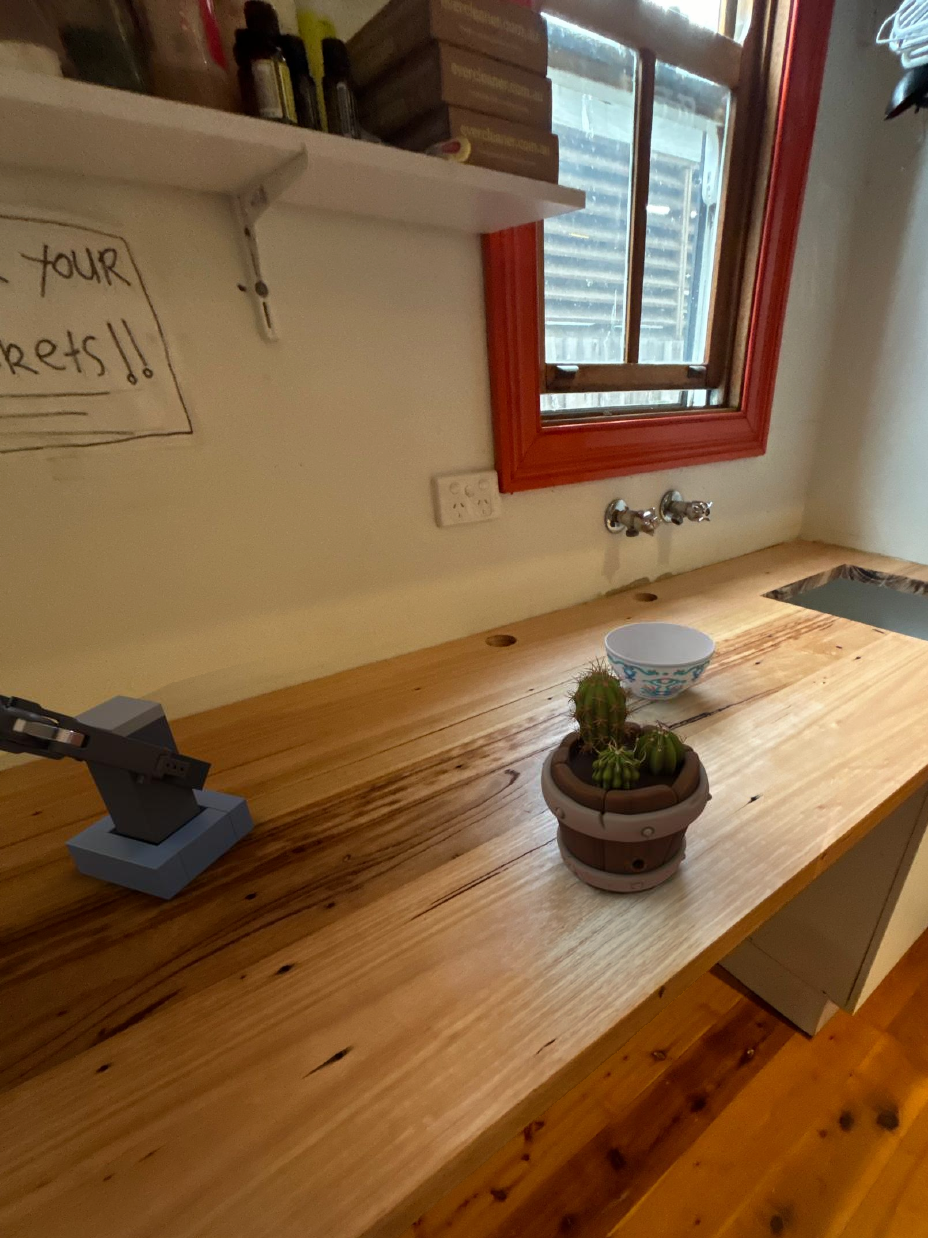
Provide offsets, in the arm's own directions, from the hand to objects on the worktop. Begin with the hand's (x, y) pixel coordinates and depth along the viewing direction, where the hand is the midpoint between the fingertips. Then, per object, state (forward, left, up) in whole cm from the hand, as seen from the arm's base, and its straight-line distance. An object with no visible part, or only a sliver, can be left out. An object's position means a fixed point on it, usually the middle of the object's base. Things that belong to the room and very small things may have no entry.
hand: (180, 771), depth 62 cm
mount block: (+1, -4, -7) cm, 8 cm away
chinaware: (+30, +51, -7) cm, 60 cm away
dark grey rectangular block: (+1, -4, -3) cm, 5 cm away
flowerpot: (+40, +16, -7) cm, 43 cm away
